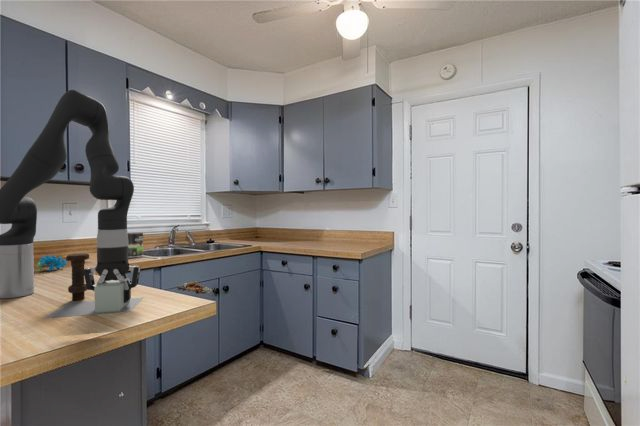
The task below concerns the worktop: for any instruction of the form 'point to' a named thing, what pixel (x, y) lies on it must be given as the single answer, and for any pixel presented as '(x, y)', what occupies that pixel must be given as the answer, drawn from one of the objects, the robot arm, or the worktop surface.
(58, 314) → the board
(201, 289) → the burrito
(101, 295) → the pale green block
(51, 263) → the blue flower cluster
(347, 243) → the worktop surface
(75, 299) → the bolt
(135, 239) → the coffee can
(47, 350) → the worktop surface
